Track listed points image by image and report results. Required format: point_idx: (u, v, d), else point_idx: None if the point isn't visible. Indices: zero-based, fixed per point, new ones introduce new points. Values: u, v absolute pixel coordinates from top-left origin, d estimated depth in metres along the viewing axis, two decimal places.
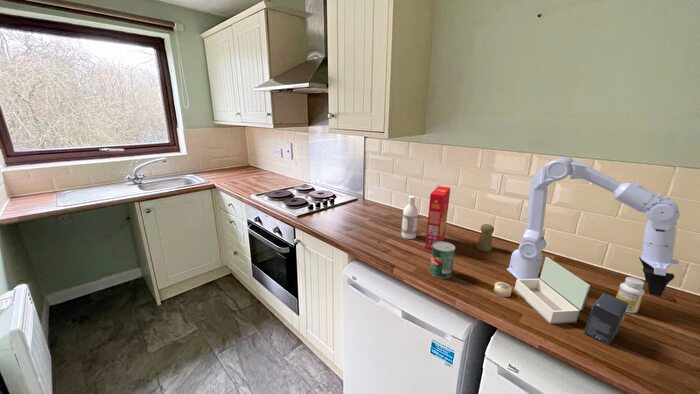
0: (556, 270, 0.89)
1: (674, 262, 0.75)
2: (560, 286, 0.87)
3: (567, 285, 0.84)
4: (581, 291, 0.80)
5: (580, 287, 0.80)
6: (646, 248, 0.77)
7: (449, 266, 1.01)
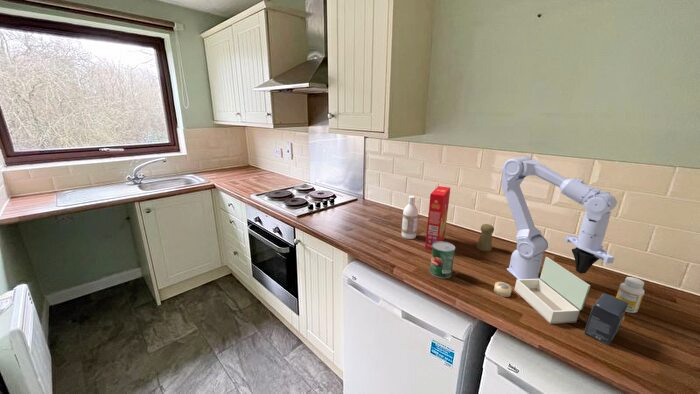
0: (556, 270, 0.89)
1: (600, 247, 0.85)
2: (560, 286, 0.87)
3: (567, 285, 0.84)
4: (581, 291, 0.80)
5: (580, 287, 0.80)
6: (588, 239, 0.83)
7: (449, 266, 1.01)
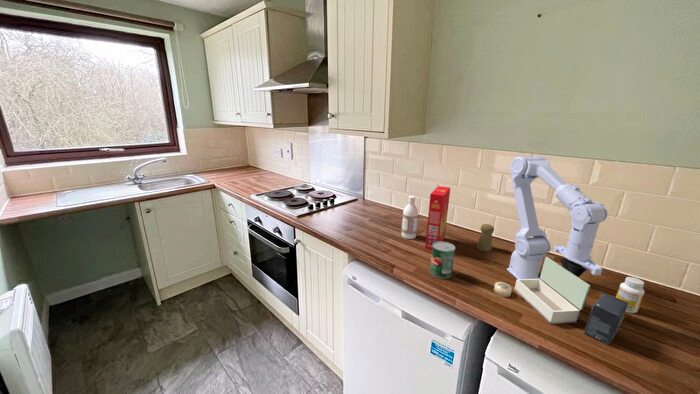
0: (556, 270, 0.89)
1: None
2: (560, 286, 0.87)
3: (567, 285, 0.84)
4: (581, 291, 0.80)
5: (580, 287, 0.80)
6: (576, 250, 0.82)
7: (449, 266, 1.01)
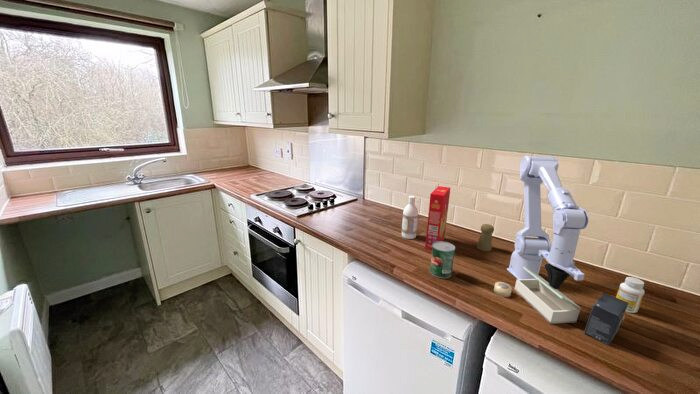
0: None
1: (572, 262, 0.83)
2: None
3: None
4: None
5: None
6: (559, 255, 0.81)
7: (449, 266, 1.01)
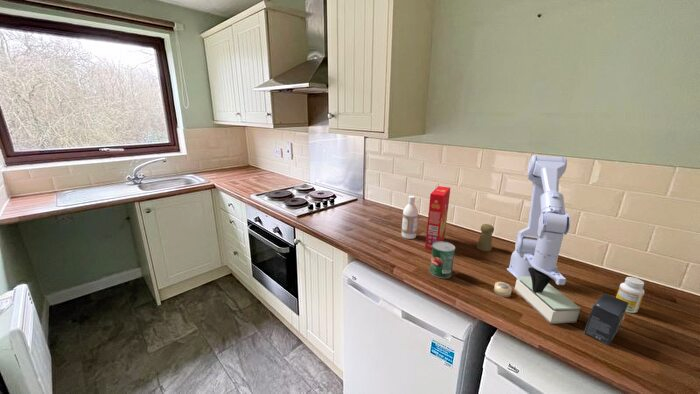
0: None
1: (555, 267, 0.83)
2: None
3: None
4: None
5: None
6: (542, 259, 0.82)
7: (449, 266, 1.01)
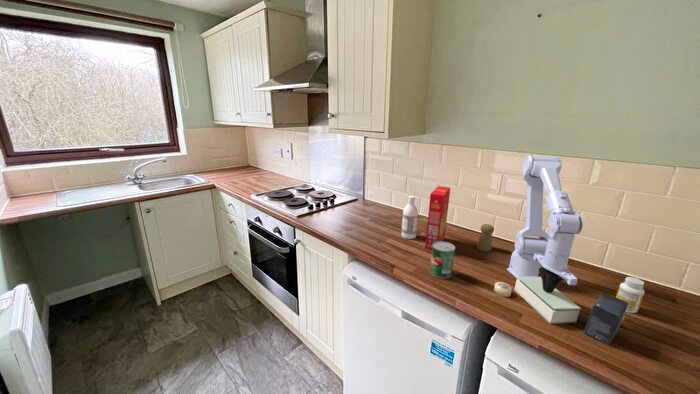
0: None
1: (566, 267, 0.84)
2: None
3: None
4: None
5: None
6: (553, 259, 0.82)
7: (449, 266, 1.01)
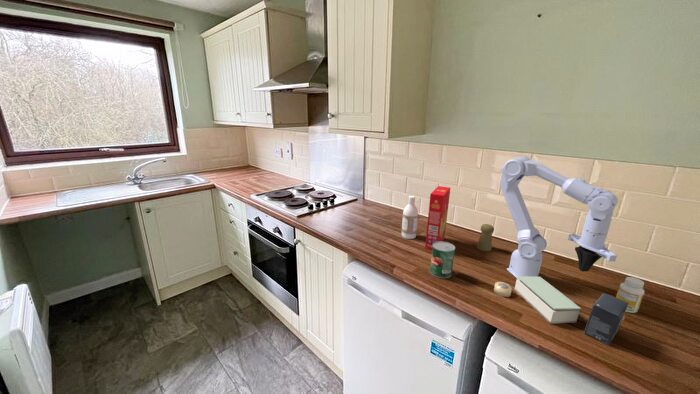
0: None
1: (603, 245, 0.86)
2: None
3: None
4: None
5: None
6: (591, 237, 0.84)
7: (449, 266, 1.01)
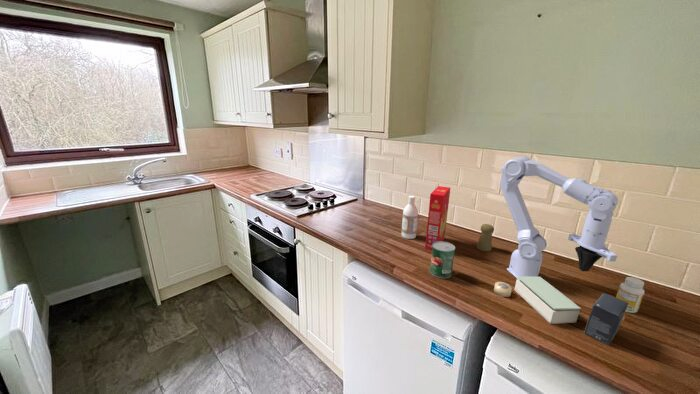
0: None
1: (603, 245, 0.86)
2: None
3: None
4: None
5: None
6: (591, 237, 0.84)
7: (449, 266, 1.01)
